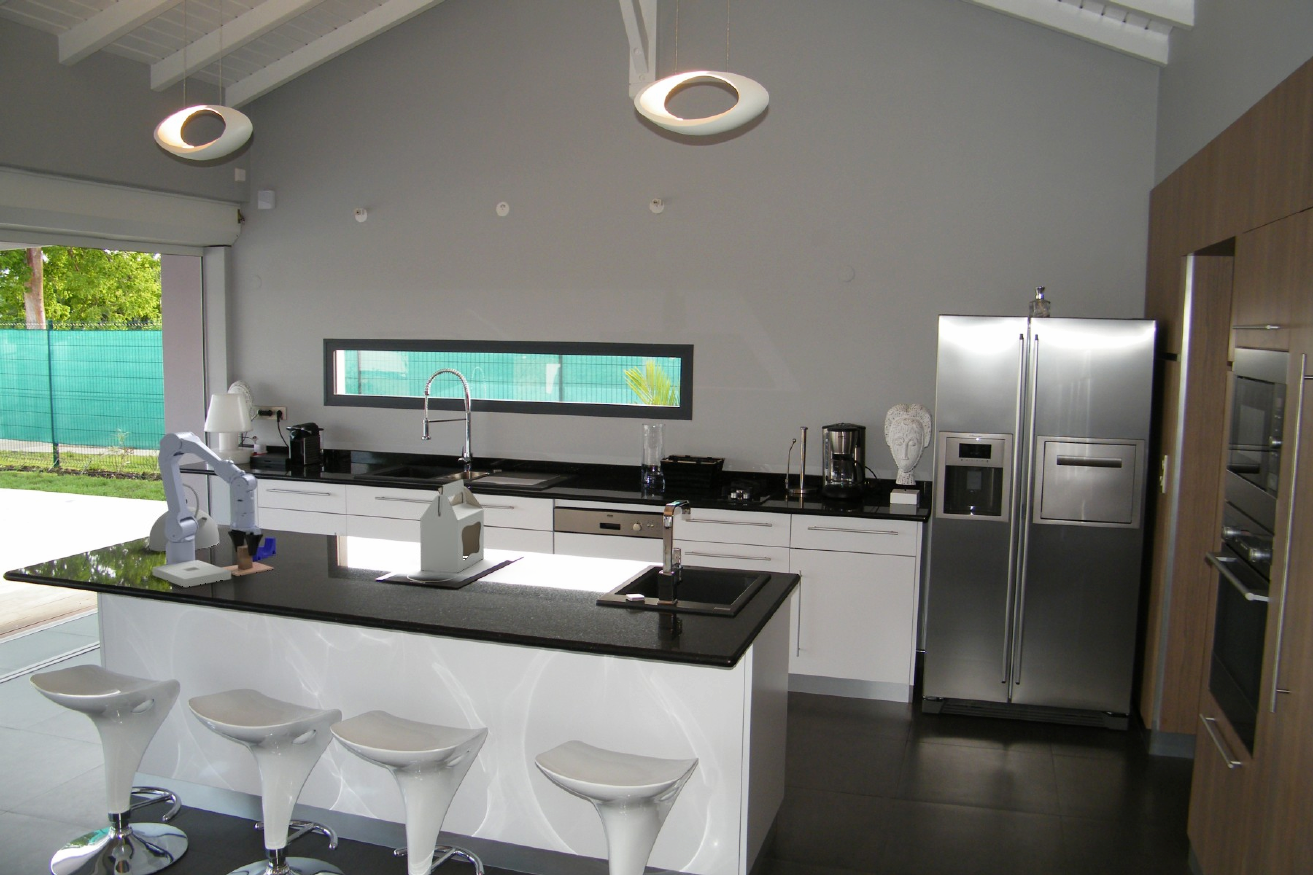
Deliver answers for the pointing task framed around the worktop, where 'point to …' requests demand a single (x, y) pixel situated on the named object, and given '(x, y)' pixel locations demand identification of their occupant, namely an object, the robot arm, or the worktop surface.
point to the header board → (191, 573)
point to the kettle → (203, 537)
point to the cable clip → (265, 549)
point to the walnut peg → (244, 558)
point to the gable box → (452, 530)
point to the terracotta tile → (256, 568)
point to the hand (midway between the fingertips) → (246, 553)
